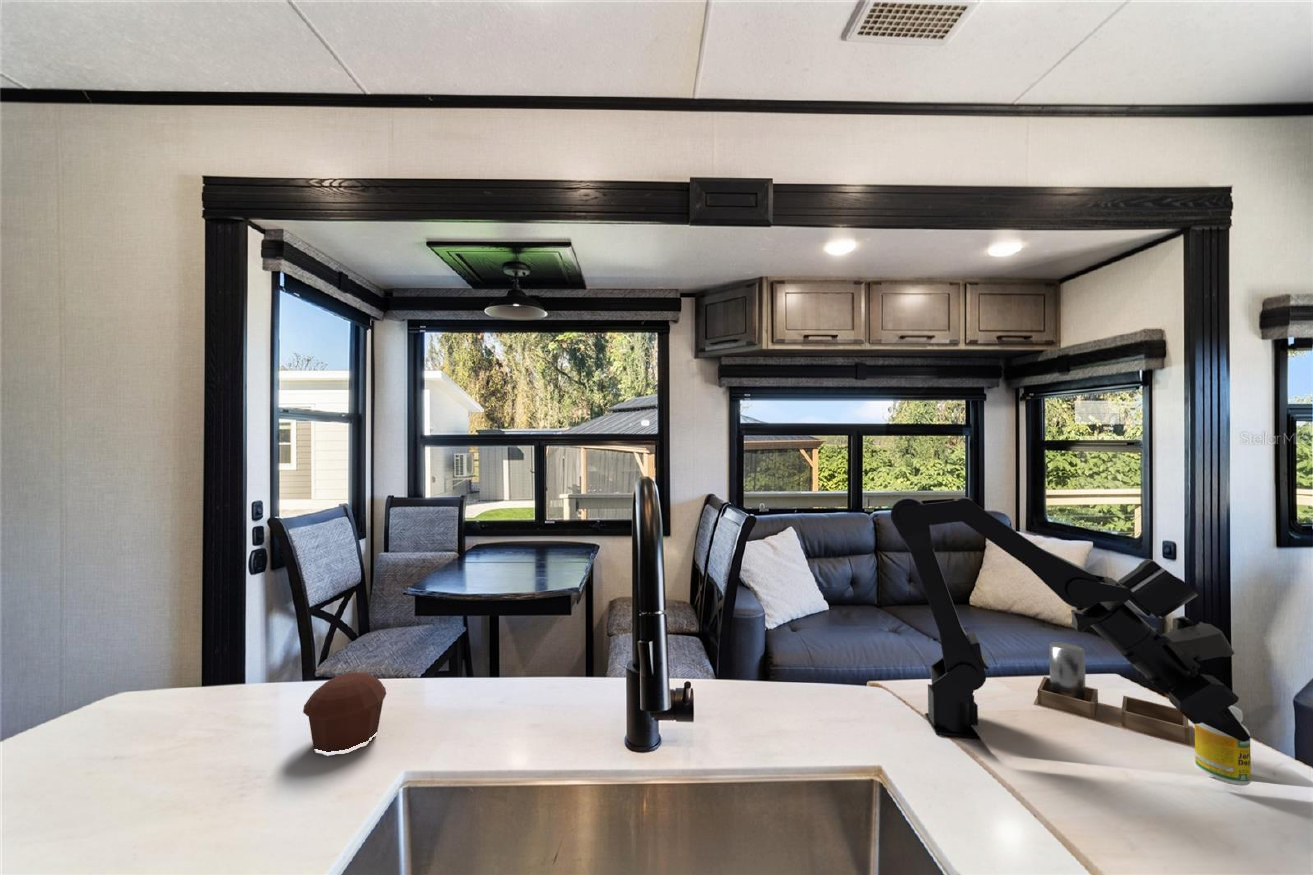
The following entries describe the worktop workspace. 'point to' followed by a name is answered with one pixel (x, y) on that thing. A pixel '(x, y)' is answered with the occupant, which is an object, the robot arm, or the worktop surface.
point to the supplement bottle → (1223, 753)
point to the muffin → (345, 711)
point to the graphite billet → (1067, 670)
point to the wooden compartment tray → (1122, 714)
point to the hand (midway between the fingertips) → (1235, 729)
